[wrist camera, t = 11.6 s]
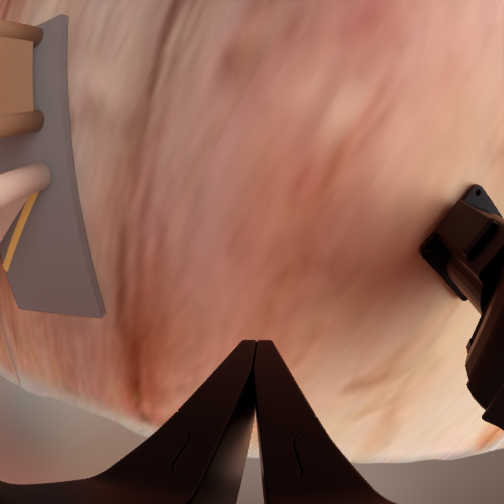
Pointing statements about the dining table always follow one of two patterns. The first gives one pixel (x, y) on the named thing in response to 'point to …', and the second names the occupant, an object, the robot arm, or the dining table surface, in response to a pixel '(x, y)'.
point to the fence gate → (20, 190)
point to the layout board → (61, 167)
